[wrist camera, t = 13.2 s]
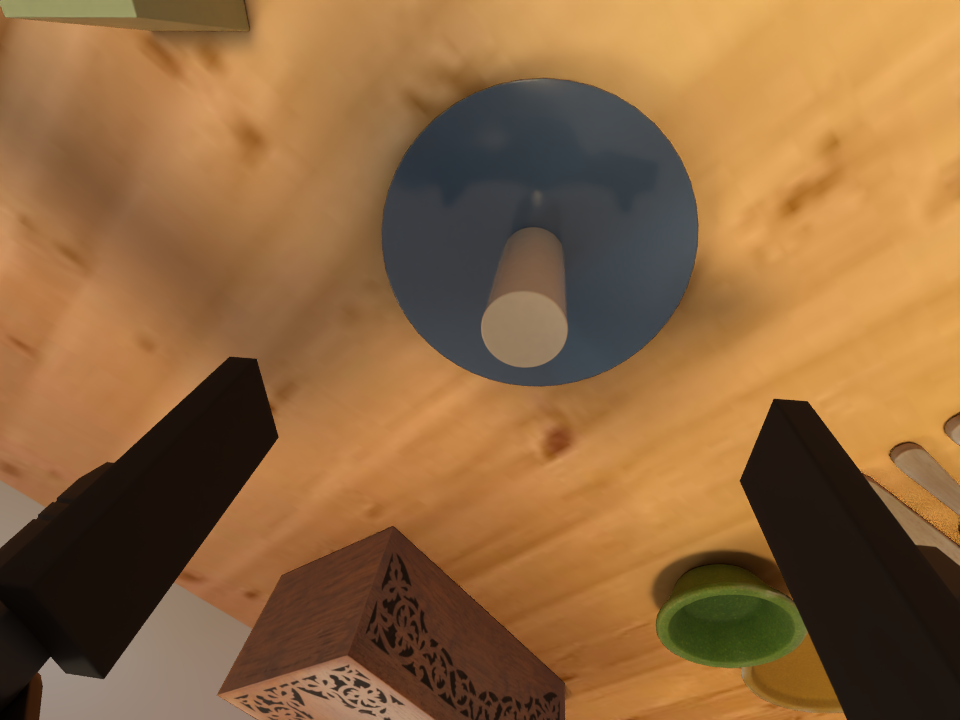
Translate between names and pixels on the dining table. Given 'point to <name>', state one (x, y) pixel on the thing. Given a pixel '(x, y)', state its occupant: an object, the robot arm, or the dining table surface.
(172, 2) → the block
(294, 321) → the dining table surface
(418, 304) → the bowl lid
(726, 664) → the tableware set
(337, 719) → the tissue box cover
